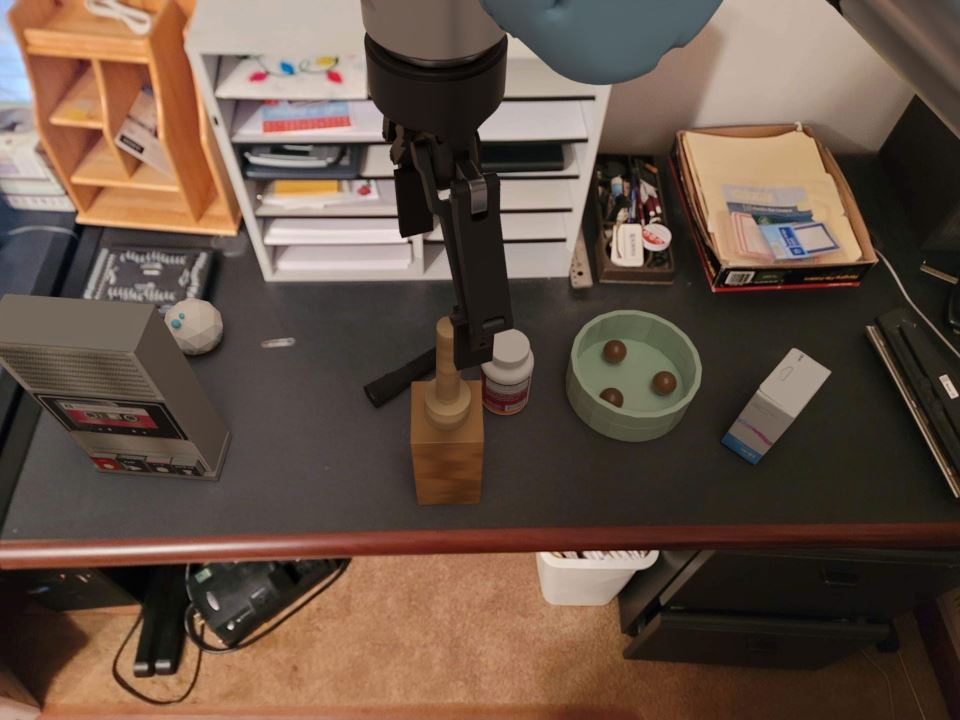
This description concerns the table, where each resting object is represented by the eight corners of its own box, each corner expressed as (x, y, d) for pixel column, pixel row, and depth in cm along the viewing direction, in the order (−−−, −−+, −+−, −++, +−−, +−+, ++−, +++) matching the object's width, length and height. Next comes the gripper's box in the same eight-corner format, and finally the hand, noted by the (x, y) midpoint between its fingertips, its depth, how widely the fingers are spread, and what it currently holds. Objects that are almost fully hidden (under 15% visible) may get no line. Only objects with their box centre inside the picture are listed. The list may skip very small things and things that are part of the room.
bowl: (710, 420, 86) (726, 394, 81) (597, 458, 82) (606, 433, 77) (651, 325, 94) (662, 297, 89) (546, 356, 90) (551, 328, 85)
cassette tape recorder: (97, 474, 79) (-30, 348, 59) (117, 427, 83) (3, 292, 62) (218, 484, 79) (133, 360, 58) (232, 436, 83) (157, 303, 62)
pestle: (474, 425, 67) (483, 343, 56) (430, 434, 66) (429, 353, 55) (463, 386, 70) (469, 300, 58) (420, 395, 69) (417, 309, 57)
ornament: (179, 323, 92) (157, 283, 85) (234, 321, 92) (217, 282, 85) (169, 366, 88) (145, 328, 81) (226, 364, 88) (208, 326, 82)
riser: (477, 448, 83) (481, 379, 70) (480, 503, 79) (484, 441, 66) (418, 449, 82) (411, 381, 70) (417, 505, 78) (410, 443, 66)
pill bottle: (491, 367, 89) (495, 314, 80) (536, 385, 88) (545, 333, 79) (470, 405, 86) (472, 354, 77) (516, 424, 84) (524, 375, 75)
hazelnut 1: (628, 364, 89) (633, 350, 86) (607, 370, 88) (611, 357, 86) (617, 345, 90) (622, 332, 88) (597, 352, 90) (600, 338, 87)
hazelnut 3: (677, 395, 86) (684, 382, 84) (656, 402, 86) (662, 389, 83) (666, 376, 88) (672, 363, 86) (644, 383, 87) (650, 370, 85)
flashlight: (364, 394, 86) (362, 381, 84) (470, 331, 92) (471, 317, 90) (378, 411, 85) (375, 399, 82) (484, 346, 91) (485, 332, 88)
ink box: (755, 468, 82) (795, 418, 72) (719, 442, 84) (753, 390, 74) (791, 422, 86) (834, 369, 76) (755, 398, 87) (792, 343, 78)
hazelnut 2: (625, 412, 85) (630, 400, 82) (603, 419, 84) (607, 407, 82) (614, 392, 86) (619, 379, 84) (592, 399, 86) (596, 386, 83)
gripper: (310, -74, 42) (354, 195, 59) (444, 206, 29) (448, 444, 46) (430, -90, 43) (438, 176, 61) (608, 167, 30) (552, 411, 48)
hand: (442, 292), depth 54 cm, fingers open, 13 cm apart
